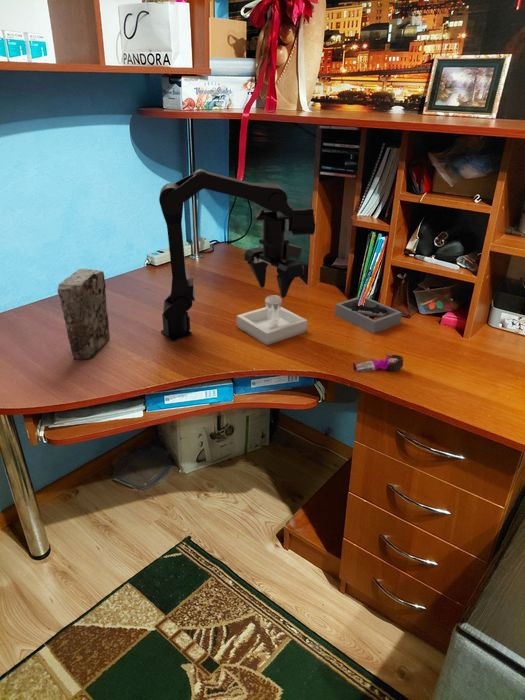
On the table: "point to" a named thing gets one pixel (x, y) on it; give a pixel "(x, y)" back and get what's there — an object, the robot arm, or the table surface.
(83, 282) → the stone block
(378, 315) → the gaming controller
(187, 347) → the table surface
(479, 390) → the table surface
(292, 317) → the tray
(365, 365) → the character figurine
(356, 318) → the gray open box
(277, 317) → the milkshake
